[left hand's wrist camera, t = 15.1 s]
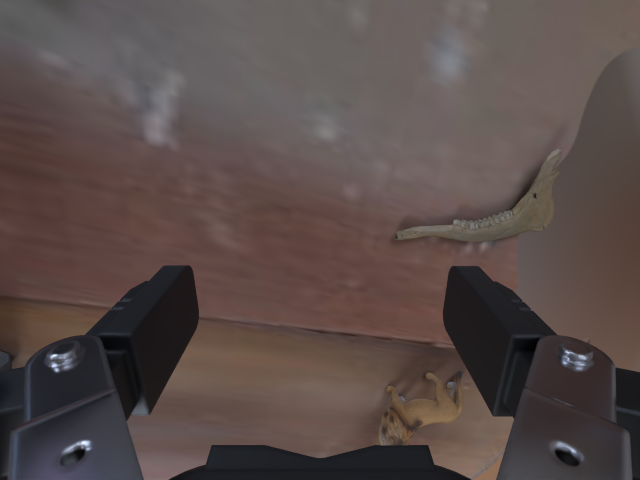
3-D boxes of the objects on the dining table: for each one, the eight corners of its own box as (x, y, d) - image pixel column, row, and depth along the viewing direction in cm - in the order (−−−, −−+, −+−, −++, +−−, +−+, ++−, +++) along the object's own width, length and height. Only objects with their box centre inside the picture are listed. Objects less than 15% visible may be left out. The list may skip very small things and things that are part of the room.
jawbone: (570, 207, 44) (582, 214, 42) (419, 283, 48) (424, 292, 46) (551, 144, 40) (563, 148, 38) (390, 232, 44) (393, 239, 42)
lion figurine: (380, 417, 56) (391, 473, 47) (364, 395, 54) (372, 449, 46) (467, 379, 53) (495, 432, 44) (453, 354, 51) (479, 404, 43)
